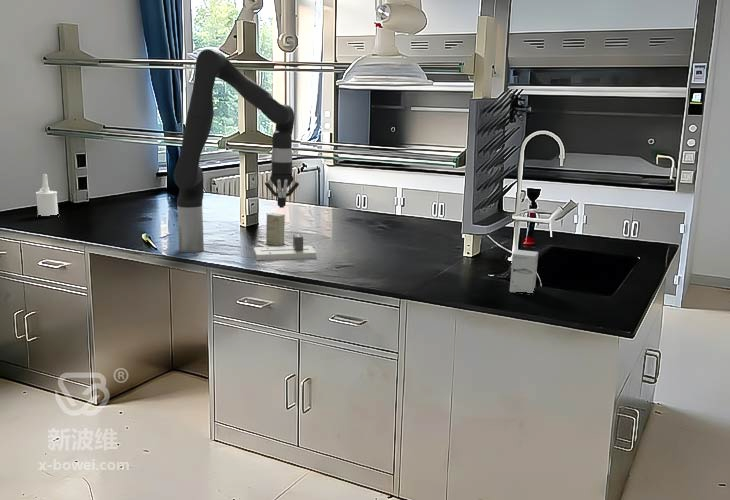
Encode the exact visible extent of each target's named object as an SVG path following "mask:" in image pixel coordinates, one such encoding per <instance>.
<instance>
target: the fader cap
mask: <svg viewBox="0 0 730 500" xmlns="http://www.w3.org/2000/svg"><path fill="white" fill-rule="evenodd" d="M292 237H293V238H292V241H293V242H292V246H293V248H294V249H295V250H303V246H304V237H303V235H302V234H300V233H299V234H292Z"/></svg>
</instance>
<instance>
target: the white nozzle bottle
mask: <svg viewBox="0 0 730 500" xmlns="http://www.w3.org/2000/svg"><path fill="white" fill-rule="evenodd" d="M48 181H49V180H48V174H46V173H42V183H41V188H39V190H38V191H36V192H35V196H36V206H37V207H36V208H37V216H38V215H41V216H50V215H57V214H59V207H58V205H59V204H58V191H56V190H50V187H49V182H48Z"/></svg>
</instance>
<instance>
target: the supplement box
mask: <svg viewBox="0 0 730 500" xmlns="http://www.w3.org/2000/svg"><path fill="white" fill-rule="evenodd" d="M511 256H512V257H511V258H512V259H511V269H510V279H509V280H510V281H509V282H510V283H509V291H510V292H509V293H516V292H527V293H533V294H534V292H535V290H534V288H535V289H536V281H537V271H538V270H537V269H538V261H539V251H533V250H524V249H523V250H522V249H515V250H514V251H513V253H512V255H511ZM533 291H534V292H533Z"/></svg>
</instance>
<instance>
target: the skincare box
mask: <svg viewBox="0 0 730 500" xmlns="http://www.w3.org/2000/svg"><path fill="white" fill-rule="evenodd" d="M285 218H286V215H285V214H284V213H283V214H282V213H274V212H271V213H267V214H266V231H265V233H266V235H265V237H266V238H265V239H266V241H265V242H266V244H267V245H273V246H276V247H279V246H281V245H285V228H286V227H285V225H286V224H285V222H286V221H285V220H286V219H285Z"/></svg>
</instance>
